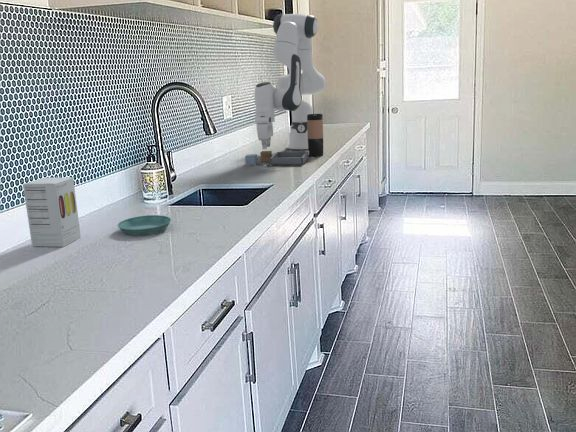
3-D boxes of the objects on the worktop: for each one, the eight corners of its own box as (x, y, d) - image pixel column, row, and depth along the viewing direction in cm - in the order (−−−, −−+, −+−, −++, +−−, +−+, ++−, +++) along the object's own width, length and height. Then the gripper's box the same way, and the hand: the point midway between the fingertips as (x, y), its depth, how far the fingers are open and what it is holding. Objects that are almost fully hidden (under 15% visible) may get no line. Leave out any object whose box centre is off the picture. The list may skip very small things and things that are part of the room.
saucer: (112, 230, 168) (110, 221, 167) (161, 221, 175) (160, 212, 174) (127, 241, 155) (126, 232, 155) (179, 231, 163) (179, 222, 162)
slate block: (247, 164, 272) (247, 154, 271) (257, 163, 271) (256, 154, 270) (245, 165, 267) (245, 155, 266) (255, 165, 267) (254, 155, 265)
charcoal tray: (277, 159, 281) (277, 151, 280) (308, 158, 279) (308, 151, 278) (270, 165, 263) (269, 158, 262) (303, 165, 261) (302, 157, 260)
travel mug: (324, 154, 291) (323, 113, 286) (323, 156, 283) (322, 114, 279) (308, 154, 292) (307, 114, 287) (307, 157, 284) (306, 115, 279)
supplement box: (63, 247, 152) (54, 183, 147) (31, 247, 153) (21, 183, 149) (82, 236, 161) (73, 176, 156) (51, 236, 162) (42, 176, 158)
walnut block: (262, 160, 280) (262, 151, 279) (272, 160, 280) (271, 150, 279) (260, 161, 276) (260, 152, 275) (270, 161, 275) (269, 152, 274)
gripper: (262, 116, 283) (264, 145, 286) (254, 120, 263) (255, 150, 266) (275, 116, 282) (276, 145, 285) (267, 119, 262) (269, 150, 265)
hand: (266, 147), depth 276 cm, fingers open, 8 cm apart
